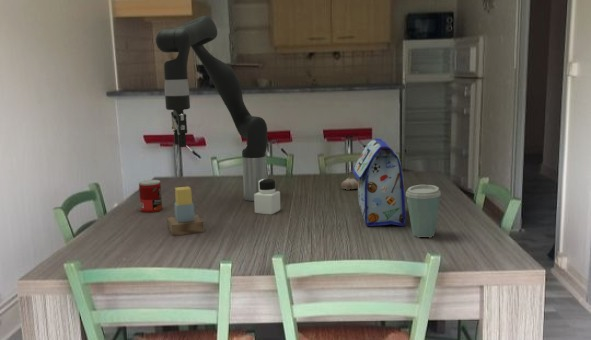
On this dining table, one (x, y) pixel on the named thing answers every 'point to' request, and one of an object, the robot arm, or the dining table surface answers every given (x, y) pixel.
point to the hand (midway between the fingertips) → (180, 145)
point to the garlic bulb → (350, 183)
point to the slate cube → (184, 212)
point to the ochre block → (183, 195)
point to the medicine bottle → (267, 197)
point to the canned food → (150, 195)
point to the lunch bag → (380, 185)
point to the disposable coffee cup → (423, 209)
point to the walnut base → (185, 226)
